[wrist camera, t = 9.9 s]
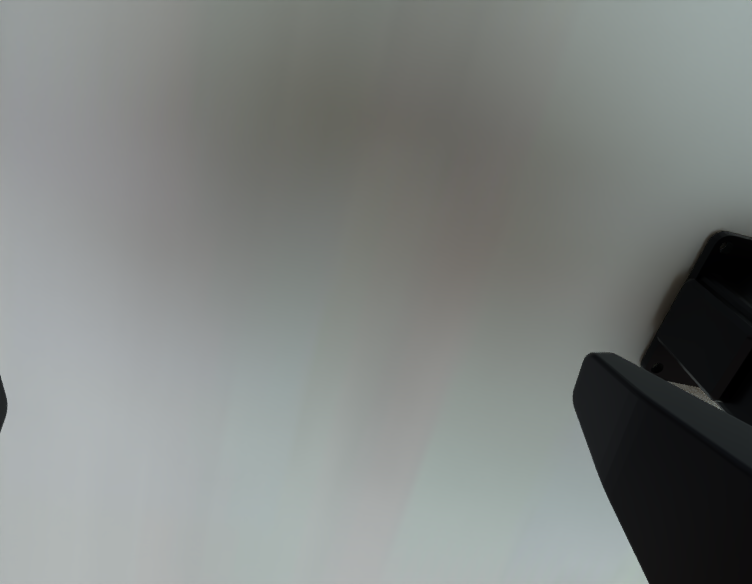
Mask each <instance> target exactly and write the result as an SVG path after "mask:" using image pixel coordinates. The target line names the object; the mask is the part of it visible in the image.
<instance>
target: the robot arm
mask: <svg viewBox="0 0 752 584" xmlns="http://www.w3.org/2000/svg"><path fill="white" fill-rule="evenodd" d="M725 242H727V245H726V246H725V247H724V248H723V249H721V250H719V249H720V246H721V245H722V244H723V243H725ZM656 363H658V365H657V366H655V367H652V366H653V365H654V364H656ZM667 381H670V382H675V383H680V384H685V385H690V386H695V387H700V388H701V389H702V390H703V391H704V393H705V394H706V395H707V396H708V397H709V398H710V399H711V400H713V401H715V402H716V403H717V404H718V405H719V407H720V408H721V409H722V410H723V411H722V410H720V409H718V408H716V407H714V406H713V405H711V404H709V403H707V402H705V401H703V400H701V399H699V398H697V397H696V396H694V395H692V394H690V393H688V392H686V391H684V390H682V389H680V388H679V387H677V386H675V385H673V384H671V383H669V382H667ZM573 405H574V408H575V411H576V414H577V417H578V419H579V422H580V425H581V428H582V431H583V433H584V436H585V439H586V442H587V445H588V448H589V450H590V453H591V456H592V459H593V462H594V464H595V467H596V470H597V473H598V475H599V478H600V480H601V483H602V485H603V488H604V490H605V492H606V494H607V497H608V499H609V501H610V503H611V505H612V507H613V509H614V511H615V514H616V516H617V518H618V520H619V522H620V524H621V526H622V528H623V530H624V532H625V534H626V537H627V539H628V541H629V543H630V545H631V547H632V549H633V551H634V553H635V555H636V557H637V559H638V562H639V564H640V566H641V568H642V570H643V572H644V574H645V576H646V578H647V580H648V582H649V584H752V238H751V237H747V236H743V235H739V234H735V233H731V232H727V231H722V232H719V233H716V234H715V235H713V236H712V237H711V238H710V240H709V241H708V243H707V245H706V246H705V248H704V250H703V252H702V254H701V255H700V257H699V259H698V261H697V263H696V264H695V266H694V268H693V270H692V271H691V273H690V275H689V277H688V279H687V280H686V282H685V284H684V285H683V287H682V289H681V291H680V292H679V294H678V296H677V298H676V300H675V301H674V303H673V305H672V307H671V309H670V310H669V312H668V314H667V316H666V318H665V319H664V321H663V323H662V325H661V327H660V328H659V330H658V332H657V334H656V336H655V338H654V340H653V341H652V343H651V345H650V347H649V349H648V350H647V352H646V354H645V356H644V358H643V359H642V362H641V367H639V366H637V365H635V364H633V363H631V362H630V361H628V360H626V359H624V358H622V357H620V356H618V355H616V354H614V353H610V352H607V353H590V354H588V355H587V356H586V357H585V358H584V361H583V363H582V366H581V369H580V372H579V375H578V378H577V381H576V384H575V387H574V391H573ZM6 414H7V398H6V394H5V390H4V387H3V383H2V380H1V376H0V432H1V429H2V426H3V423H4V420H5V417H6Z"/></svg>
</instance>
